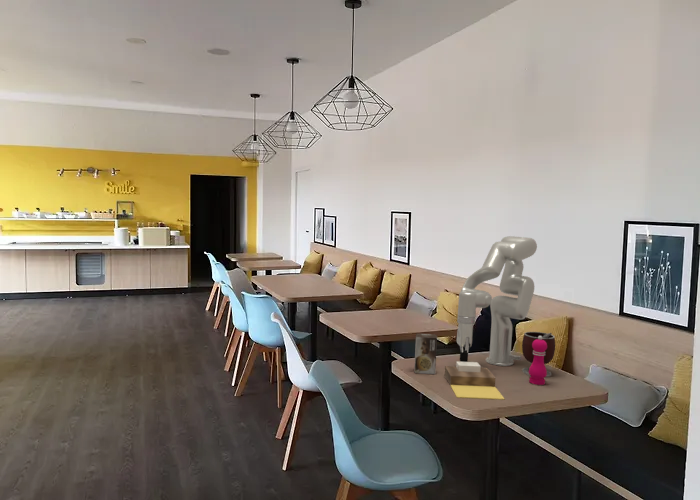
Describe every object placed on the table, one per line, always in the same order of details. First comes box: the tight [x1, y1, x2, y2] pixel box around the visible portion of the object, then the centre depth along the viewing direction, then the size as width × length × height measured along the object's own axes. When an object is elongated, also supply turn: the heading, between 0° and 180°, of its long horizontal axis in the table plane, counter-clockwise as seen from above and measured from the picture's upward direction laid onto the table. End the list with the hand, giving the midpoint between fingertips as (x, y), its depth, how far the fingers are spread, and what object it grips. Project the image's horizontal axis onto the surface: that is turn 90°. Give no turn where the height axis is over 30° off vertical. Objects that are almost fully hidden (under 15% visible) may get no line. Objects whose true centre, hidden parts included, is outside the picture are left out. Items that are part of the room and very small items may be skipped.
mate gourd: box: [521, 331, 556, 378], centre depth 244 cm, size 16×14×20 cm
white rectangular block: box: [455, 361, 482, 372], centre depth 232 cm, size 9×6×2 cm, turn 90°
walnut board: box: [444, 365, 496, 387], centre depth 229 cm, size 18×14×4 cm
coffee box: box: [413, 333, 438, 375], centre depth 240 cm, size 9×6×16 cm
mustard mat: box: [449, 384, 506, 401], centre depth 215 cm, size 18×14×1 cm
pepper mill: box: [528, 336, 548, 386], centre depth 230 cm, size 7×7×20 cm
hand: (463, 361), depth 241 cm, fingers closed
